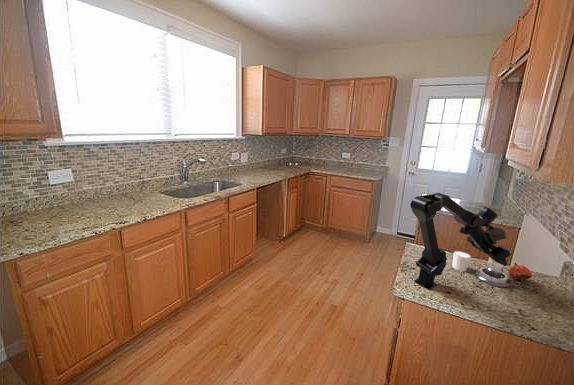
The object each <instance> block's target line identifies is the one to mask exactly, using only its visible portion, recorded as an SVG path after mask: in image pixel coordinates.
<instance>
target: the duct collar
mask: <svg viewBox="0 0 574 385" xmlns="http://www.w3.org/2000/svg"><path fill="white" fill-rule="evenodd" d="M486 267H487V266H486ZM486 267H485V266H482V267H480V268H479V269H477V270H476V271H475V273H474V275H475V277H476V279H478V280H479V281H481V282H482V283H484V284H487V285H490V286H493V287H497V288H504V289H505V288H509V287H510V285H511V281H510V280H509V277H508V275H507V274H506V273H504V271H503V272H502V276H501V279H500V278H495V277H491V276H489V275H487V274H485V271H486Z"/></svg>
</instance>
